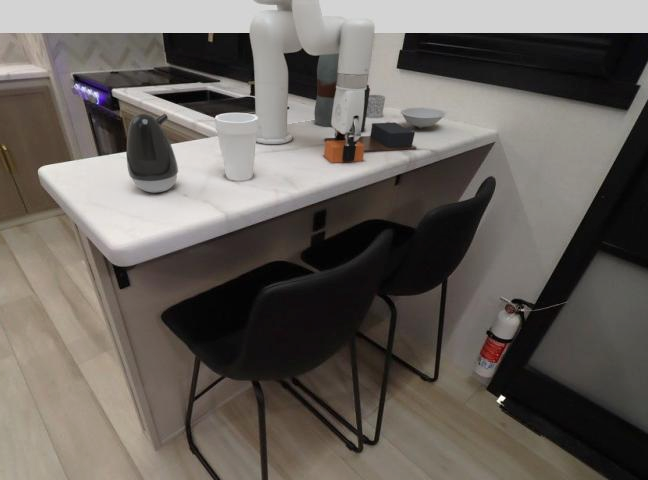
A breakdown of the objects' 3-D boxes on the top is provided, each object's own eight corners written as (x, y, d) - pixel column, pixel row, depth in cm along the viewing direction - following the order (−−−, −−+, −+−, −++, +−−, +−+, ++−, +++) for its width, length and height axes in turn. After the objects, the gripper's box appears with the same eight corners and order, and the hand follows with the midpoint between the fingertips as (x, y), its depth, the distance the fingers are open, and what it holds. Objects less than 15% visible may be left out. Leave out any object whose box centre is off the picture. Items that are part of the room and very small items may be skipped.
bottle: (308, 122, 135) (313, 17, 116) (327, 119, 139) (335, 18, 121) (325, 128, 129) (334, 19, 110) (345, 125, 133) (356, 19, 115)
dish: (425, 136, 124) (429, 119, 121) (388, 127, 132) (391, 112, 129) (450, 127, 134) (454, 112, 131) (414, 120, 142) (417, 105, 139)
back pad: (387, 147, 111) (390, 133, 108) (370, 136, 120) (372, 123, 117) (411, 146, 112) (415, 132, 110) (392, 135, 121) (395, 122, 119)
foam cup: (222, 184, 86) (217, 123, 78) (217, 170, 93) (212, 113, 85) (263, 181, 88) (262, 121, 80) (254, 168, 95) (253, 112, 87)
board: (341, 153, 107) (341, 151, 106) (324, 140, 117) (324, 138, 117) (416, 149, 112) (416, 147, 112) (393, 136, 123) (394, 134, 122)
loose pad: (331, 163, 100) (333, 147, 98) (324, 156, 105) (325, 141, 102) (362, 160, 102) (364, 145, 100) (353, 154, 107) (355, 139, 104)
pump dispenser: (190, 188, 84) (180, 113, 75) (149, 201, 78) (132, 122, 68) (164, 176, 89) (152, 105, 80) (123, 188, 83) (105, 112, 74)
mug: (375, 113, 150) (378, 94, 146) (385, 116, 145) (388, 97, 141) (354, 114, 147) (356, 95, 142) (363, 118, 142) (365, 98, 138)
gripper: (325, 76, 98) (320, 148, 109) (351, 87, 85) (342, 168, 96) (352, 76, 100) (344, 147, 111) (381, 87, 86) (369, 166, 98)
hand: (343, 156), depth 103 cm, fingers closed on loose pad, 6 cm apart
